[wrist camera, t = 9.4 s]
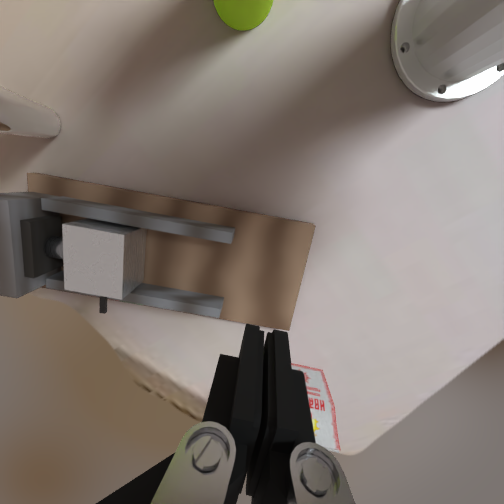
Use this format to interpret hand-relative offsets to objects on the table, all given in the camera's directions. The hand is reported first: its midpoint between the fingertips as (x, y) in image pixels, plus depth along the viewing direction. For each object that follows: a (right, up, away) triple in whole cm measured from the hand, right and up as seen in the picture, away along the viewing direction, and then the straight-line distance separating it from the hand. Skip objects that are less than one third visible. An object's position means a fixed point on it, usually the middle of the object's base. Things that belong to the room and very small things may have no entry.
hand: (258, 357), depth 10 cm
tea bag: (+6, -14, +26) cm, 30 cm away
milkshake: (-23, +19, +18) cm, 35 cm away
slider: (-18, +3, +20) cm, 27 cm away
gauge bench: (-10, +4, +22) cm, 24 cm away
